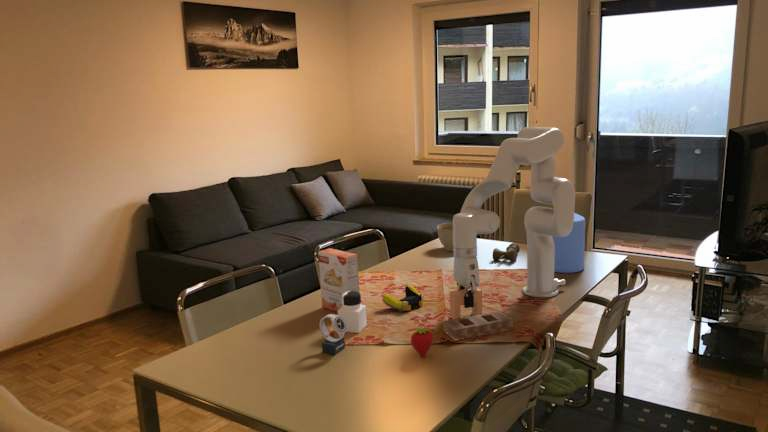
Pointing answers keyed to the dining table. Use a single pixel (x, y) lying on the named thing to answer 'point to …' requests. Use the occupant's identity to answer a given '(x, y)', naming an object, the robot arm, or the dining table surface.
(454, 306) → the peach block
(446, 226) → the planter bowl
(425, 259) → the dining table surface
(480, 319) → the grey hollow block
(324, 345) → the watch
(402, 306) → the gaming controller
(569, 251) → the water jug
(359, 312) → the medicine bottle
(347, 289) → the cracker box
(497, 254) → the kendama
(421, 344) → the strawberry
